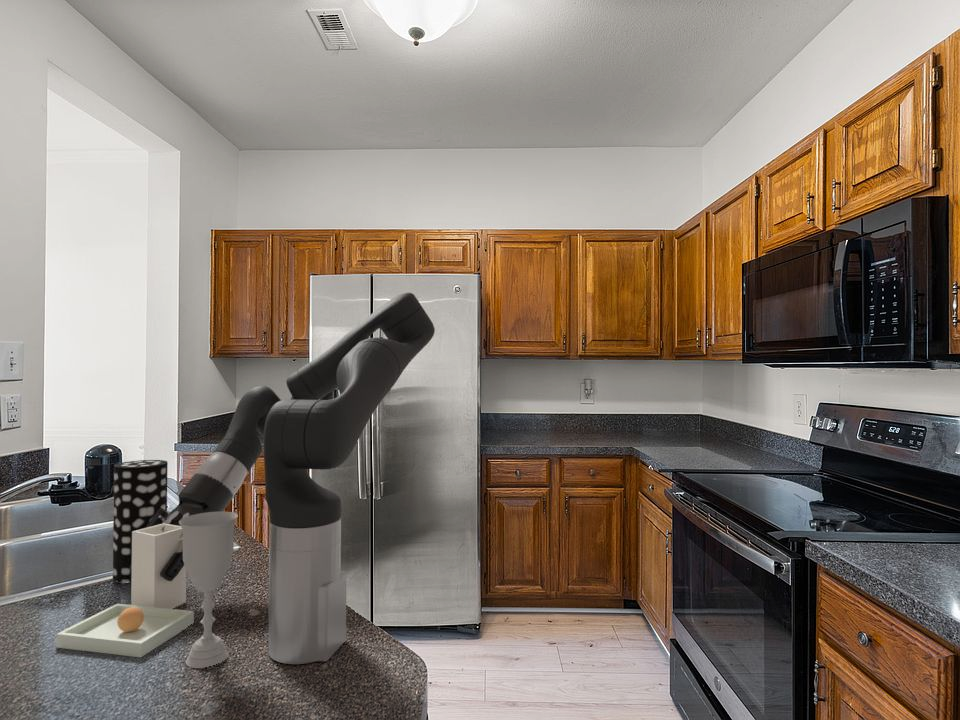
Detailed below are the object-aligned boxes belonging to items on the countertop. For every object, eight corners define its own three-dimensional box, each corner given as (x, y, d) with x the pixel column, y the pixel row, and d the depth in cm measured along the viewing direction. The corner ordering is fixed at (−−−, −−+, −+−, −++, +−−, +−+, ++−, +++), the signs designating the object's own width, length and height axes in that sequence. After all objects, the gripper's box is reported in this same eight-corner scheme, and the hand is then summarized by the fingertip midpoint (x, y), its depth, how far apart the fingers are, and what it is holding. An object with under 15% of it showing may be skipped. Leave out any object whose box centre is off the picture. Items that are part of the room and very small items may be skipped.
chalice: (212, 675, 71) (214, 527, 72) (163, 669, 73) (165, 524, 73) (247, 647, 79) (249, 513, 79) (202, 642, 80) (204, 510, 80)
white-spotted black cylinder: (132, 566, 110) (133, 459, 110) (175, 567, 109) (176, 460, 109) (101, 583, 101) (103, 467, 101) (148, 584, 101) (150, 467, 101)
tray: (193, 623, 86) (193, 611, 86) (140, 657, 76) (140, 643, 76) (117, 615, 88) (117, 603, 88) (56, 647, 78) (56, 633, 78)
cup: (185, 603, 93) (186, 527, 93) (153, 615, 88) (154, 536, 88) (163, 596, 96) (164, 523, 96) (131, 609, 91) (132, 531, 91)
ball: (137, 598, 84) (125, 615, 84) (119, 607, 81) (107, 625, 81) (153, 613, 83) (141, 630, 83) (136, 623, 80) (123, 640, 80)
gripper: (256, 501, 100) (196, 594, 90) (199, 493, 107) (135, 578, 96) (231, 475, 96) (164, 570, 85) (172, 468, 102) (103, 555, 91)
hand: (149, 574), depth 91 cm, fingers open, 6 cm apart
